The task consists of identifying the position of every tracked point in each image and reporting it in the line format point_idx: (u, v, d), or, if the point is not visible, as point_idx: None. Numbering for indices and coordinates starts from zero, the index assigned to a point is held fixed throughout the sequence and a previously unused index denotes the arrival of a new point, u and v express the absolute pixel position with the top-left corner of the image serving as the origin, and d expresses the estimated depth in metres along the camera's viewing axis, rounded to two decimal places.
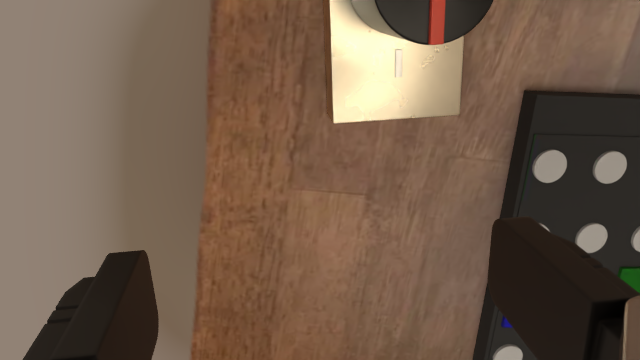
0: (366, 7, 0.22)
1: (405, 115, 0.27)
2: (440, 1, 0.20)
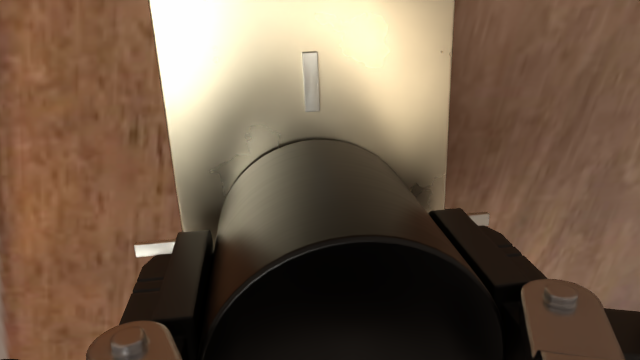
0: None
1: None
2: None
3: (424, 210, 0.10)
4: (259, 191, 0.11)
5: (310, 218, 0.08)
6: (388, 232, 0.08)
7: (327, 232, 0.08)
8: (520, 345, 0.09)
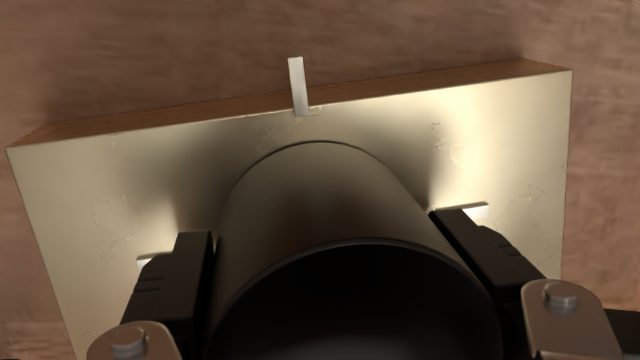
0: None
1: (560, 182, 0.14)
2: None
3: (427, 216, 0.10)
4: (263, 191, 0.11)
5: (318, 219, 0.08)
6: (394, 235, 0.08)
7: (334, 233, 0.08)
8: (520, 345, 0.09)
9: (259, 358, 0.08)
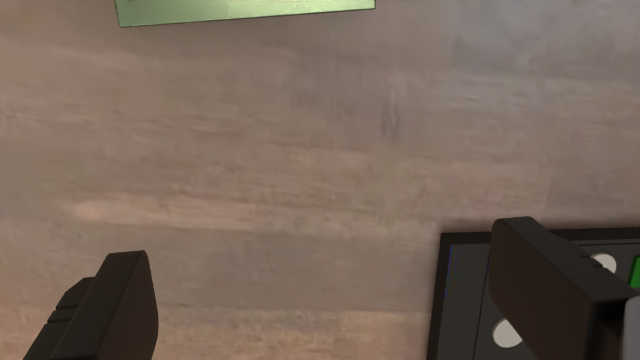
0: None
1: None
2: None
3: None
4: None
5: None
6: None
7: None
8: None
9: None
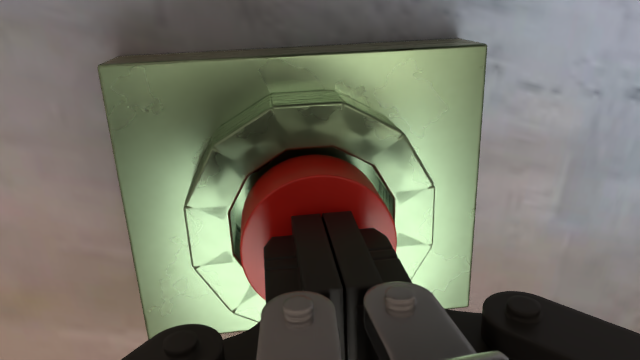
0: None
1: None
2: None
3: None
4: None
5: None
6: None
7: None
8: (364, 347, 0.09)
9: None
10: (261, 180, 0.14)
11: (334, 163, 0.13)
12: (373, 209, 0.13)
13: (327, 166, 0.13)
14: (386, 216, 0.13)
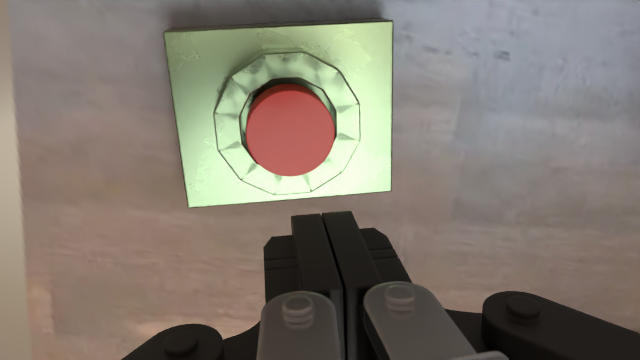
0: None
1: None
2: None
3: None
4: None
5: None
6: None
7: None
8: (364, 347, 0.09)
9: None
10: (257, 97, 0.23)
11: (299, 87, 0.23)
12: (320, 111, 0.23)
13: (295, 87, 0.23)
14: (328, 115, 0.23)
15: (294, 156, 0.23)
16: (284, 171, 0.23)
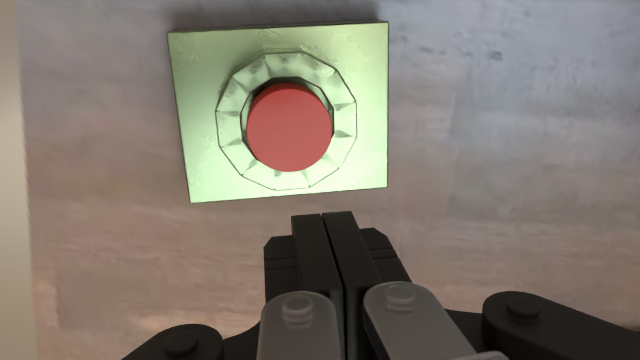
0: None
1: None
2: None
3: None
4: None
5: None
6: None
7: None
8: (364, 347, 0.09)
9: None
10: (257, 96, 0.24)
11: (298, 85, 0.24)
12: (318, 108, 0.23)
13: (294, 86, 0.24)
14: (325, 113, 0.24)
15: (293, 152, 0.24)
16: (283, 167, 0.24)
